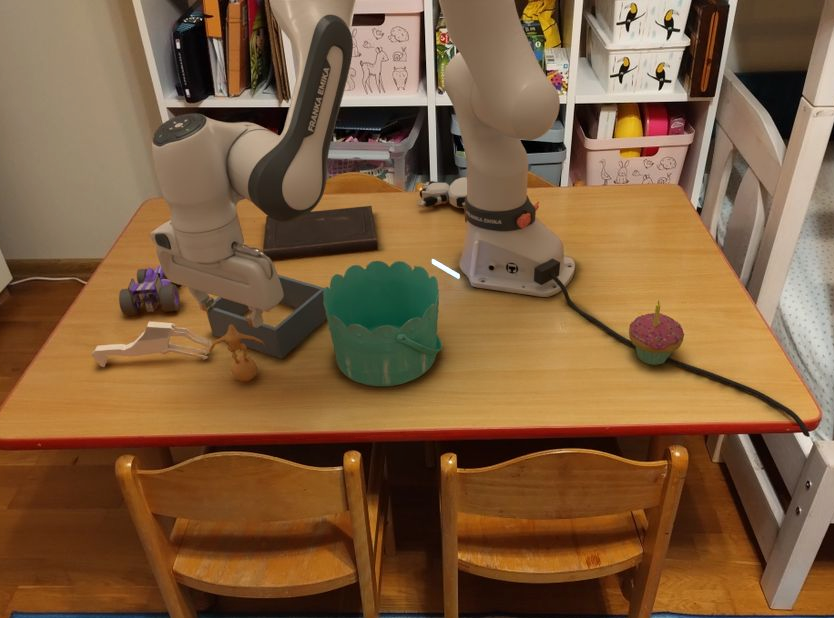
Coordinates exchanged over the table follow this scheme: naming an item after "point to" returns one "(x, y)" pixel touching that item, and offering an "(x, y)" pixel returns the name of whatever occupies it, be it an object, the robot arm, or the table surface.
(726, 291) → the table surface
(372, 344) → the basket
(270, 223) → the hardcover book
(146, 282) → the toy race car
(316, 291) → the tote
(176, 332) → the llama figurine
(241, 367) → the figurine
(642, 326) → the cupcake
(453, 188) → the robot toy
